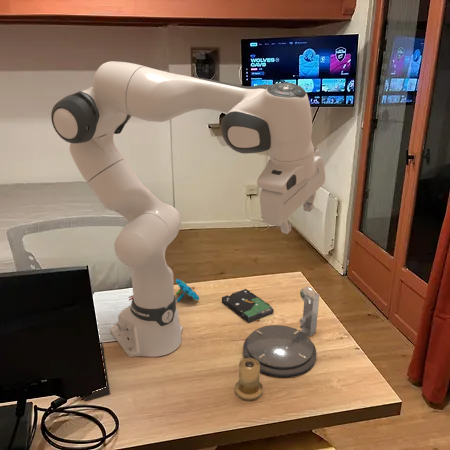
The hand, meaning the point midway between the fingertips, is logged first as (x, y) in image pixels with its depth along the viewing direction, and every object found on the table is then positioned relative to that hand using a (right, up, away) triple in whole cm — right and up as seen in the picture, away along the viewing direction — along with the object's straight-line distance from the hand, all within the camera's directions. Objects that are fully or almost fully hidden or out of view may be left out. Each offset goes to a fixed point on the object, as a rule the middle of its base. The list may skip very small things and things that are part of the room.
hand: (297, 220), depth 100 cm
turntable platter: (-1, -35, +25) cm, 43 cm away
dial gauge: (+8, -33, +33) cm, 48 cm away
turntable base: (-1, -36, +25) cm, 44 cm away
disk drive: (-9, -29, +47) cm, 56 cm away
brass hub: (-10, -42, +11) cm, 45 cm away
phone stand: (-48, -41, +13) cm, 65 cm away
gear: (-29, -26, +52) cm, 65 cm away
